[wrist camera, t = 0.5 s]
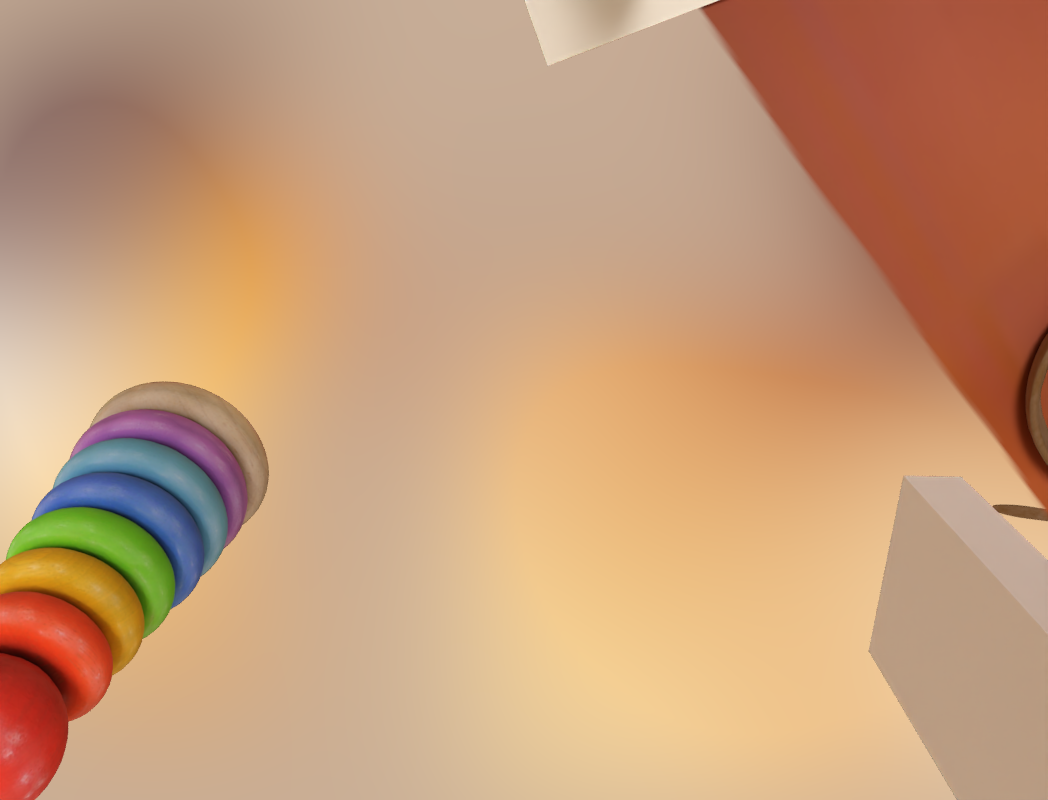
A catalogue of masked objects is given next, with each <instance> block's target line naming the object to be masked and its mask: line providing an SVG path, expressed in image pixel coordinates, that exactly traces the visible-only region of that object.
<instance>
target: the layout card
mask: <svg viewBox="0 0 1048 800" xmlns="http://www.w3.org/2000/svg"><path fill="white" fill-rule="evenodd" d="M524 1H525V4H526V7H527V10H528V12H529V15H530V18H531V21H532V24H533V27H534V29H535V32H536V35H537V38H538V41H539V43H540V46H541V49H542V52H543V55H544V57H545V60H546V63H547V66H550V65H552V64H555V63H557V62H560V61H563V60H565V59H568V58H570V57H573V56H576V55H578V54H581V53H583V52H586V51H589V50H591V49H594V48H596V47H599V46H601V45H604V44H607V43H609V42H612V41H615V40H617V39H620V38H622V37H625V36H628V35H630V34H633V33H635V32H638V31H640V30H643V29H646V28H648V27H651V26H653V25H656V24H659V23H661V22H664V21H666V20H669V19H672V18H674V17H677V16H679V15H682V14H685V13H687V12H690V11H692V10H695V9H698V8H700V7H703V6H705V5H708V4H711V3H713V2H716V1H718V0H524Z"/></svg>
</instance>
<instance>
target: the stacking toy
mask: <svg viewBox="0 0 1048 800" xmlns="http://www.w3.org/2000/svg"><path fill="white" fill-rule="evenodd" d="M268 475H269V470H268V462H267V457H266V453H265V449H264V447H263V444H262V442H261V440H260V438H259V436H258V434H257V433H256V431H255V430H254V428H253V427H252V425H251V424H250V423H249V421H248V420H247V419H246V418H245V417H244V416H243V415H242V414H241V413H240V412H239V411H238V410H237V409H236V408H235V407H233V406H232V405H231V404H229V403H228V402H227V401H225V400H224V399H222V398H220V397H219V396H217V395H215V394H213V393H211V392H208V391H206V390H204V389H201V388H198V387H196V386H192V385H188V384H183V383H177V382H151V383H146V384H141V385H138V386H134V387H132V388H129V389H127V390H124V391H122V392H121V393H119V394H117V395H116V396H114V397H113V398H112V399H110V400H109V401H108V402H107V403H106V404H105V405H104V406H103V407H102V408H101V409H100V410H99V412H98V413H97V415H96V416H95V418H94V419H93V421H92V424H91V426H90V428H89V429H88V430H87V431H86V432H85V433H84V434H83V435H82V437H81V438H80V439H79V441H78V442H77V444H76V445H75V447H74V449H73V451H72V454H71V456H70V459H69V461H68V462H67V463H66V464H65V465H64V466H63V468H62V469H61V471H60V472H59V474H58V476H57V478H56V480H55V483H54V486H53V489H52V490H51V491H50V492H49V493H48V494H47V495H46V496H45V497H44V498H43V499H42V501H41V502H40V503H39V505H38V506H37V508H36V510H35V513H34V515H33V517H32V521H31V522H29V523H28V524H26V525H25V526H24V527H23V528H22V529H21V530H20V531H19V533H18V534H17V535H16V536H15V538H14V539H13V541H12V543H11V545H10V547H9V550H8V553H7V557H6V560H5V561H4V562H3V563H2V564H0V800H35V799H36V798H37V797H38V796H39V795H40V794H41V792H42V791H43V790H44V789H45V788H46V787H47V786H48V784H49V783H50V781H51V779H52V778H53V776H54V775H55V773H56V771H57V769H58V767H59V765H60V763H61V761H62V758H63V755H64V751H65V748H66V743H67V739H68V737H67V736H68V722H69V721H72V720H74V719H77V718H79V717H81V716H83V715H85V714H86V713H88V712H89V711H90V710H91V709H93V708H94V707H95V706H96V705H97V704H98V703H99V701H100V700H101V699H102V698H103V696H104V695H105V693H106V691H107V689H108V687H109V685H110V681H111V677H112V675H114V674H115V673H117V672H119V671H120V670H122V669H123V668H124V667H125V666H126V665H127V664H128V663H129V662H130V661H131V660H132V659H133V657H134V656H135V654H136V653H137V651H138V649H139V647H140V645H141V642H142V639H143V638H145V637H147V636H148V635H150V634H151V633H152V632H153V631H155V630H156V629H157V628H158V627H159V625H160V624H161V623H162V622H163V621H164V619H165V618H166V616H167V615H168V613H169V611H170V609H172V608H173V607H175V606H177V605H178V604H180V603H181V602H182V601H183V600H184V599H185V598H187V597H188V596H189V594H190V593H191V592H192V591H193V589H194V588H195V586H196V584H197V583H198V581H199V579H200V577H201V576H202V575H204V574H205V573H206V572H207V571H208V570H209V569H210V568H211V567H212V566H213V565H214V564H215V562H216V561H217V559H218V558H219V556H220V555H221V553H222V551H223V549H224V548H225V547H226V546H227V545H228V544H229V543H230V542H231V541H232V540H233V539H234V538H235V536H236V535H237V533H238V532H239V530H240V528H241V526H242V525H243V524H244V523H245V522H247V521H248V520H249V519H250V518H251V517H252V516H253V514H254V513H255V512H256V511H257V509H258V508H259V506H260V505H261V503H262V501H263V499H264V496H265V493H266V490H267V484H268Z"/></svg>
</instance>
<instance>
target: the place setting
mask: <svg viewBox="0 0 1048 800" xmlns="http://www.w3.org/2000/svg"><path fill="white" fill-rule="evenodd" d="M1047 370H1048V333H1047V335H1046V336H1045V338H1044V339H1043V341H1042V343H1041V345H1040V347H1039V349H1038V351H1037V353H1036V355H1035V358H1034V360H1033V363H1032V367H1031V370H1030V373H1029V376H1028V382H1027V388H1026V417H1027V422H1028V428H1029V431H1030V434H1031V436H1032V439H1033V442H1034V444H1035V446H1036V448H1037V450H1038V451H1039V453H1040V455H1041V457H1042V458H1043V460H1044V461H1045V463H1046V464H1047V465H1048V428H1047V426H1046V423H1045V420H1044V417H1043V414H1042V408H1041V388H1042V385H1043V382H1044V378H1045V375H1046V372H1047ZM992 507H993V508H994V509H995V510H996V511H997V512H998V513H1002V514H1005V515H1009V516H1014V517H1019V518H1026V519H1034V520H1041V521H1048V513H1047V512H1046V511H1045V509H1043V508H1036V507H1030V506H1021V505H1001V504H1000V505H993V506H992Z"/></svg>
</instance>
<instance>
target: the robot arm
mask: <svg viewBox="0 0 1048 800" xmlns="http://www.w3.org/2000/svg"><path fill="white" fill-rule="evenodd" d="M869 652H870V654H871V656H872V657H873V659H874V661H875V662H876V664H877V666H878V667H879V669H880V671H881V672H882V674H883V676H884V677H885V679H886V681H887V683H888V684H889V686H890V688H891V689H892V691H893V693H894V695H895V696H896V698H897V699H898V701H899V703H900V704H901V706H902V708H903V710H904V711H905V713H906V715H907V716H908V718H909V720H910V722H911V723H912V725H913V727H914V728H915V730H916V732H917V733H918V735H919V737H920V738H921V740H922V742H923V743H924V745H925V747H926V749H927V750H928V752H929V753H930V755H931V757H932V759H933V760H934V762H935V764H936V765H937V767H938V769H939V771H940V772H941V774H942V776H943V777H944V779H945V781H946V782H947V784H948V786H949V787H950V789H951V790H952V792H953V794H954V796H955V798H956V799H957V800H1048V560H1047V559H1046V558H1045V557H1044V556H1043V555H1042V554H1041V553H1040V552H1039V551H1038V550H1037V549H1035V548H1034V547H1033V546H1032V545H1031V544H1030V543H1029V542H1028V541H1027V540H1026V539H1025V538H1024V537H1023V536H1022V535H1021V534H1020V533H1019V532H1018V531H1017V530H1016V529H1015V528H1014V527H1013V526H1012V525H1011V524H1009V522H1007V521H1006V520H1005V519H1004V518H1003V517H1002V516H1001V515H1000V514H999V513H998V512H997V511H996V510H995V509H994V508H993V507H992V506H991V505H990V504H989V503H988V502H987V501H986V500H985V499H983V497H982V496H980V495H979V494H978V493H977V492H976V491H975V490H974V489H973V488H972V487H971V486H970V485H969V484H968V483H967V482H966V481H965V480H964V479H963V478H962V477H943V476H903V481H902V486H901V491H900V496H899V501H898V506H897V511H896V516H895V521H894V526H893V531H892V537H891V541H890V546H889V552H888V557H887V562H886V567H885V572H884V577H883V582H882V587H881V592H880V597H879V602H878V607H877V612H876V618H875V622H874V628H873V633H872V637H871V642H870V648H869Z"/></svg>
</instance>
